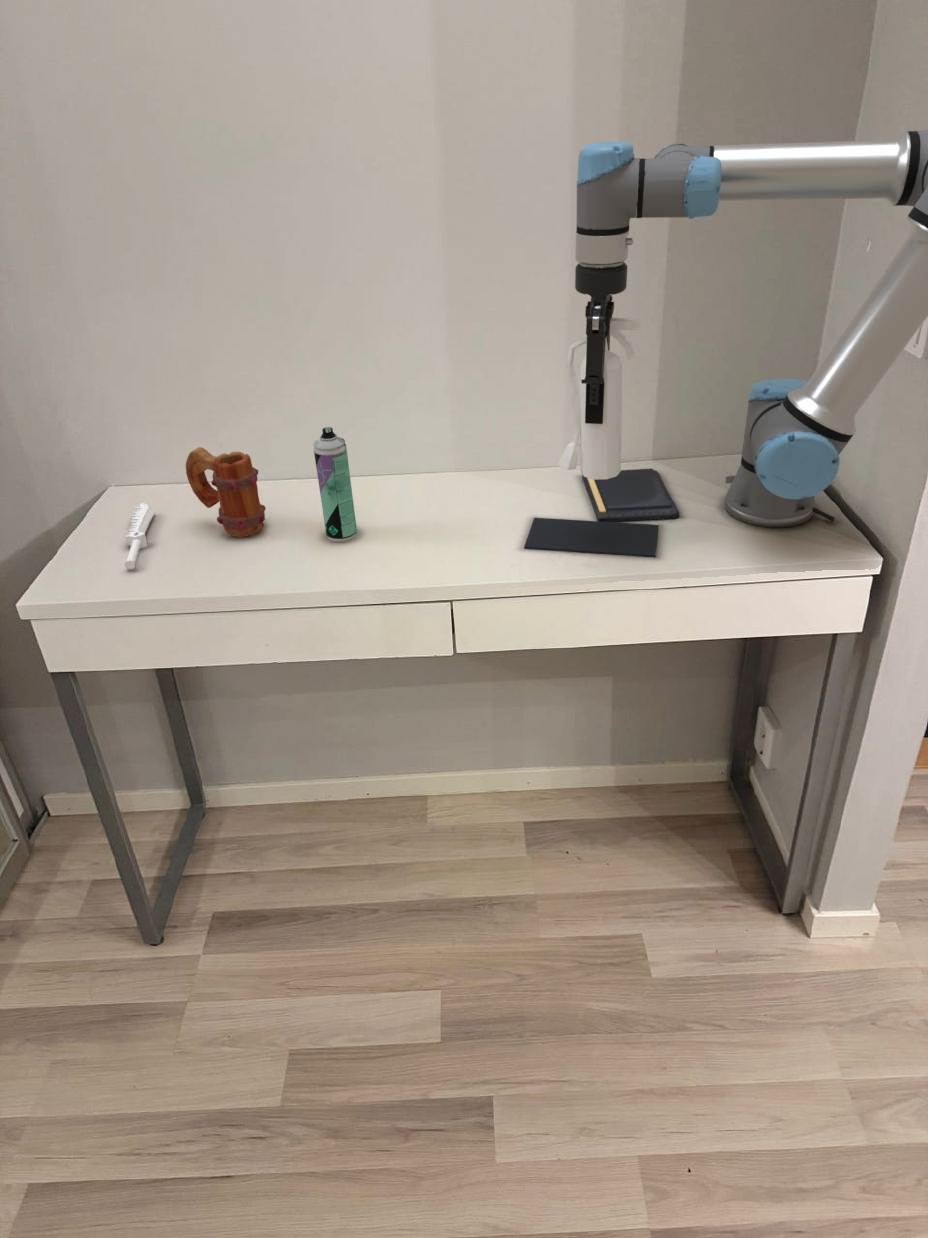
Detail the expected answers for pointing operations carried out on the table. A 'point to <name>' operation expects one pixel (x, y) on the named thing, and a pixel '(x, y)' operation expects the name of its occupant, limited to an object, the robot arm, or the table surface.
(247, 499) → the mug
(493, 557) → the table surface
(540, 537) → the mat
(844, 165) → the robot arm
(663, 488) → the wallet
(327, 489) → the spray can
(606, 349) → the fire extinguisher
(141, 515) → the toy saw sword
